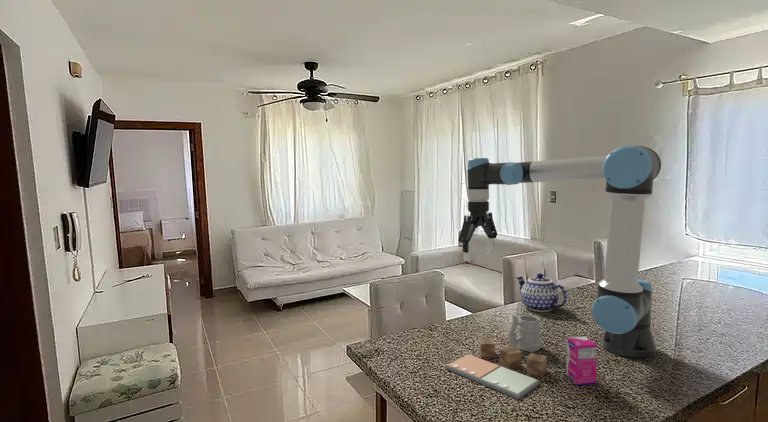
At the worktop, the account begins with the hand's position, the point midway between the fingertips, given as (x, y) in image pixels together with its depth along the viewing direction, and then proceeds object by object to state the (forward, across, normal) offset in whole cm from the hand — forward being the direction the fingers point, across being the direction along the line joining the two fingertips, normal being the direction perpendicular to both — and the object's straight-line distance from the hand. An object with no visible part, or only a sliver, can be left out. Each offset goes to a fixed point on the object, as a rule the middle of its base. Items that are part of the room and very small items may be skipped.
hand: (478, 258), depth 158 cm
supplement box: (+27, +13, +44) cm, 53 cm away
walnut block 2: (+26, +18, +25) cm, 41 cm away
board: (+26, +29, +25) cm, 46 cm away
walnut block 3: (+26, +17, +33) cm, 46 cm away
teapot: (+26, -35, +5) cm, 44 cm away
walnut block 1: (+26, +17, +16) cm, 35 cm away
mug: (+26, +5, +22) cm, 35 cm away
